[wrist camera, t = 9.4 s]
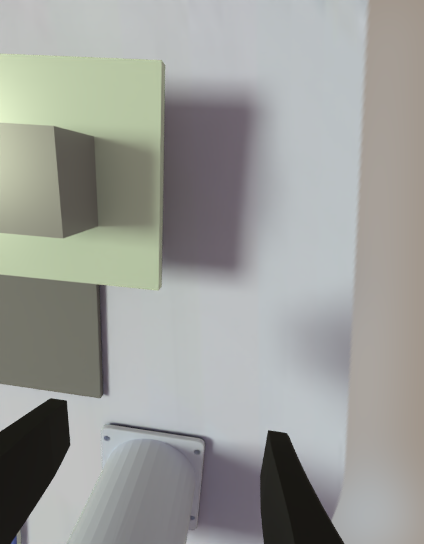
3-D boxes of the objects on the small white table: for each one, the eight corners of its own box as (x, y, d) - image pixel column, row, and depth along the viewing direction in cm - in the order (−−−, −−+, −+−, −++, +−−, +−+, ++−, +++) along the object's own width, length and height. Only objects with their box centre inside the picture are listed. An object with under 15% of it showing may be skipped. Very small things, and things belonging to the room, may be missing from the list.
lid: (161, 286, 16) (138, 316, 13) (-17, 268, 17) (-84, 292, 13) (165, 65, 13) (136, 26, 10) (-53, 56, 14) (-152, 16, 10)
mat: (102, 394, 23) (100, 398, 23) (-34, 374, 24) (-38, 378, 23) (98, 252, 20) (95, 254, 19) (-61, 235, 20) (-67, 236, 20)
